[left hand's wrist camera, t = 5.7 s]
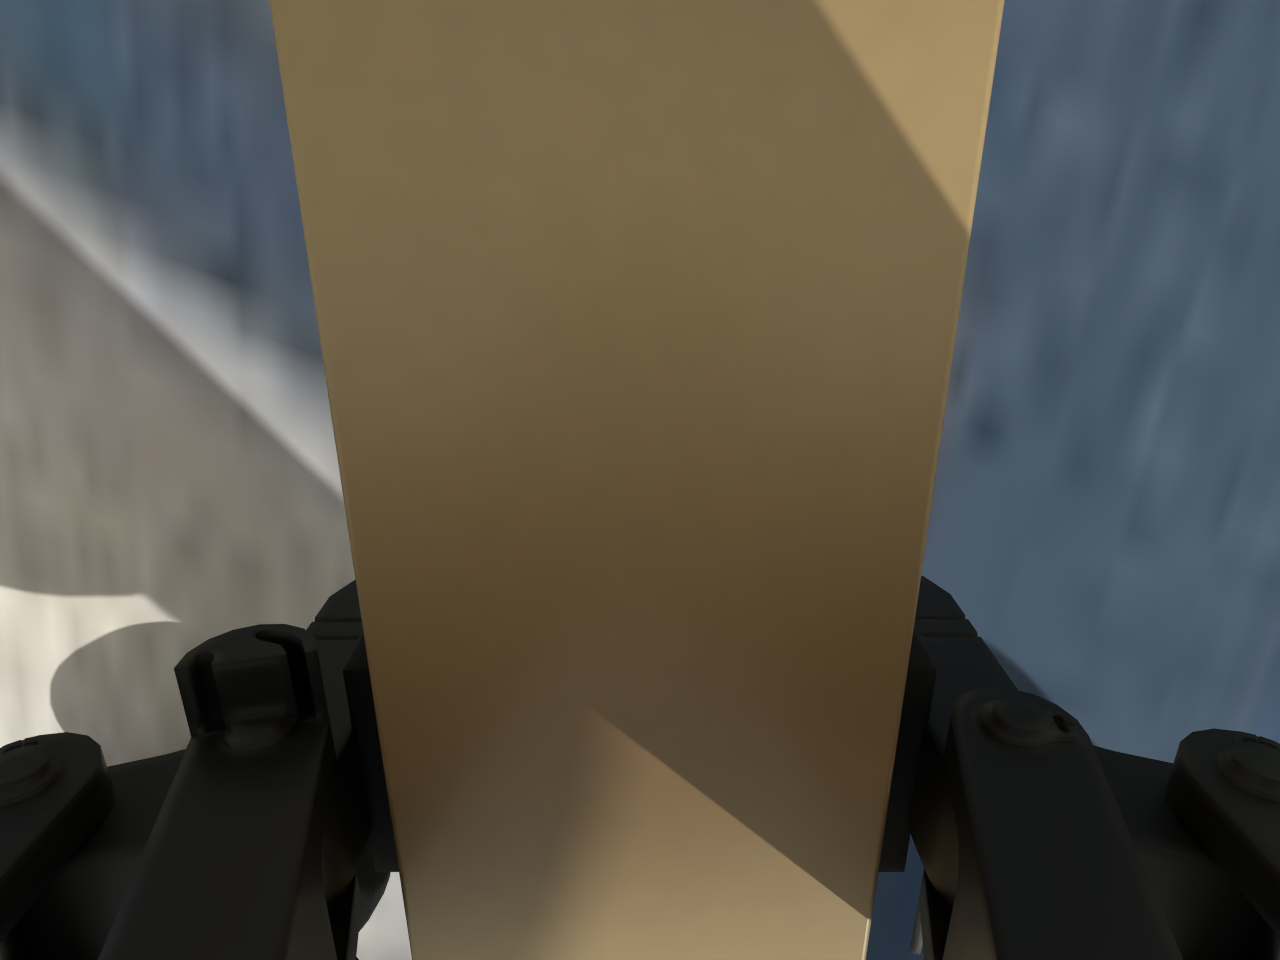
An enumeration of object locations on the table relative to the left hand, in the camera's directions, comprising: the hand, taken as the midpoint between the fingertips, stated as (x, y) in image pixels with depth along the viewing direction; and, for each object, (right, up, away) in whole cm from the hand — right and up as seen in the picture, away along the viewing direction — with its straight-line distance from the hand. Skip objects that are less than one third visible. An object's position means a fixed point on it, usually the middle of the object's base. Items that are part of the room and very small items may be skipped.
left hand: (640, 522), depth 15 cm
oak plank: (0, +9, -3) cm, 10 cm away
